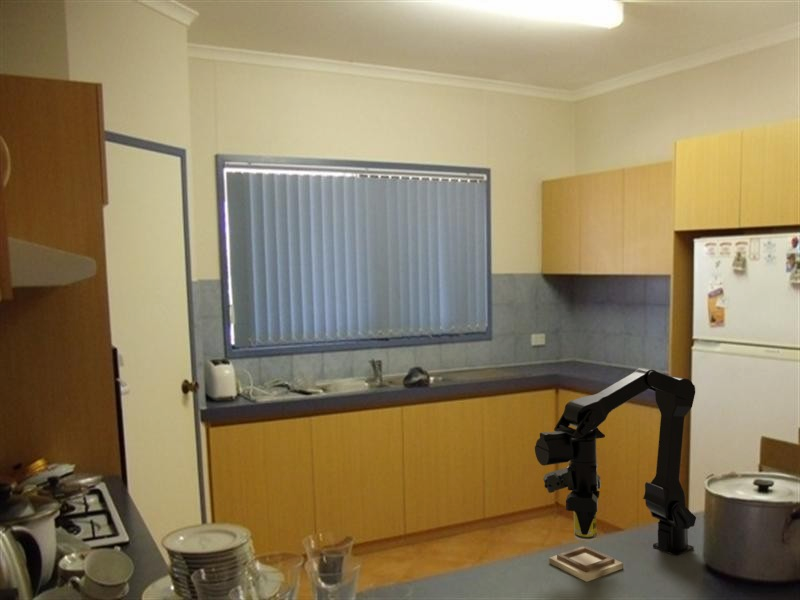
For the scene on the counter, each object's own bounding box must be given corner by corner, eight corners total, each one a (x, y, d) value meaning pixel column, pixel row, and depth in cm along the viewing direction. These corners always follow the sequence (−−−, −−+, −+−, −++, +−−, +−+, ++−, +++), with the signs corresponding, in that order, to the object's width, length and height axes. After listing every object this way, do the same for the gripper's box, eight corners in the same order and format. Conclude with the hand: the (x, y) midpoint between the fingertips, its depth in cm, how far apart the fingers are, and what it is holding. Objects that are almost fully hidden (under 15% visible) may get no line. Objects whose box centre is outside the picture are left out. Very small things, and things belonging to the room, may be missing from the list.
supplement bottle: (597, 542, 140) (596, 503, 140) (575, 541, 141) (573, 503, 141) (595, 533, 145) (594, 496, 144) (573, 532, 146) (572, 495, 145)
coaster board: (584, 551, 151) (584, 542, 150) (622, 568, 141) (622, 559, 141) (549, 563, 145) (548, 554, 145) (586, 581, 135) (586, 572, 135)
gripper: (550, 446, 154) (552, 512, 154) (540, 469, 136) (542, 543, 137) (599, 448, 150) (601, 515, 151) (595, 472, 132) (598, 548, 133)
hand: (585, 529), depth 143 cm, fingers closed on supplement bottle, 5 cm apart
